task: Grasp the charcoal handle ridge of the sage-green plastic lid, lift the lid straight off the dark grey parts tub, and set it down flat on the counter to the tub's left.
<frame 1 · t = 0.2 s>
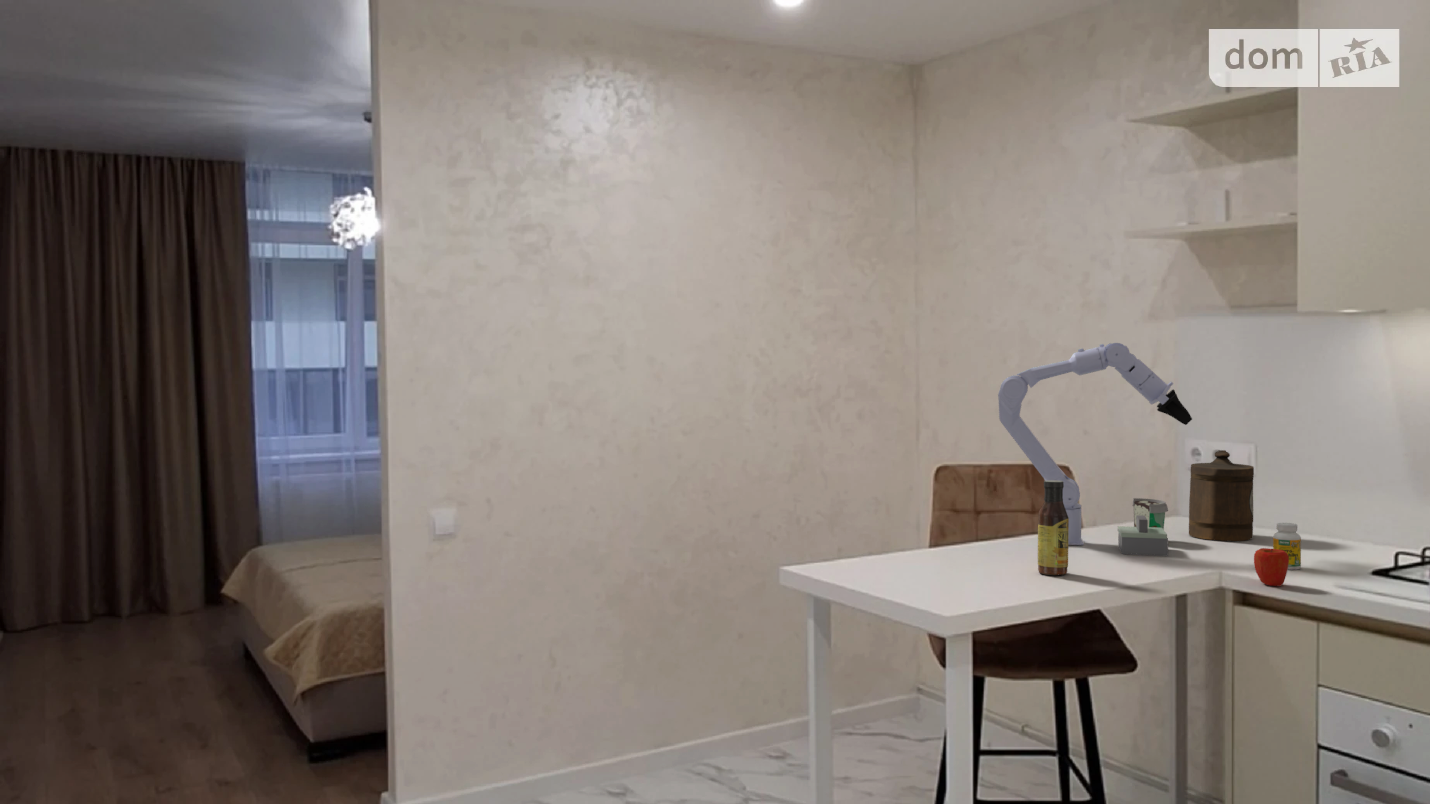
hand: (1188, 420, 264), 31 cm above the counter, tool tilted 45°, fingers open, 7 cm apart
wooden container: (1220, 537, 281), on the counter
lid: (1141, 537, 261), point 3 cm above the counter, touching tub
tub: (1142, 551, 261), on the counter
supplement bottle: (1286, 568, 240), on the counter
food container: (1153, 542, 275), on the counter
sauce bottle: (1052, 574, 236), on the counter
apple: (1270, 586, 223), on the counter
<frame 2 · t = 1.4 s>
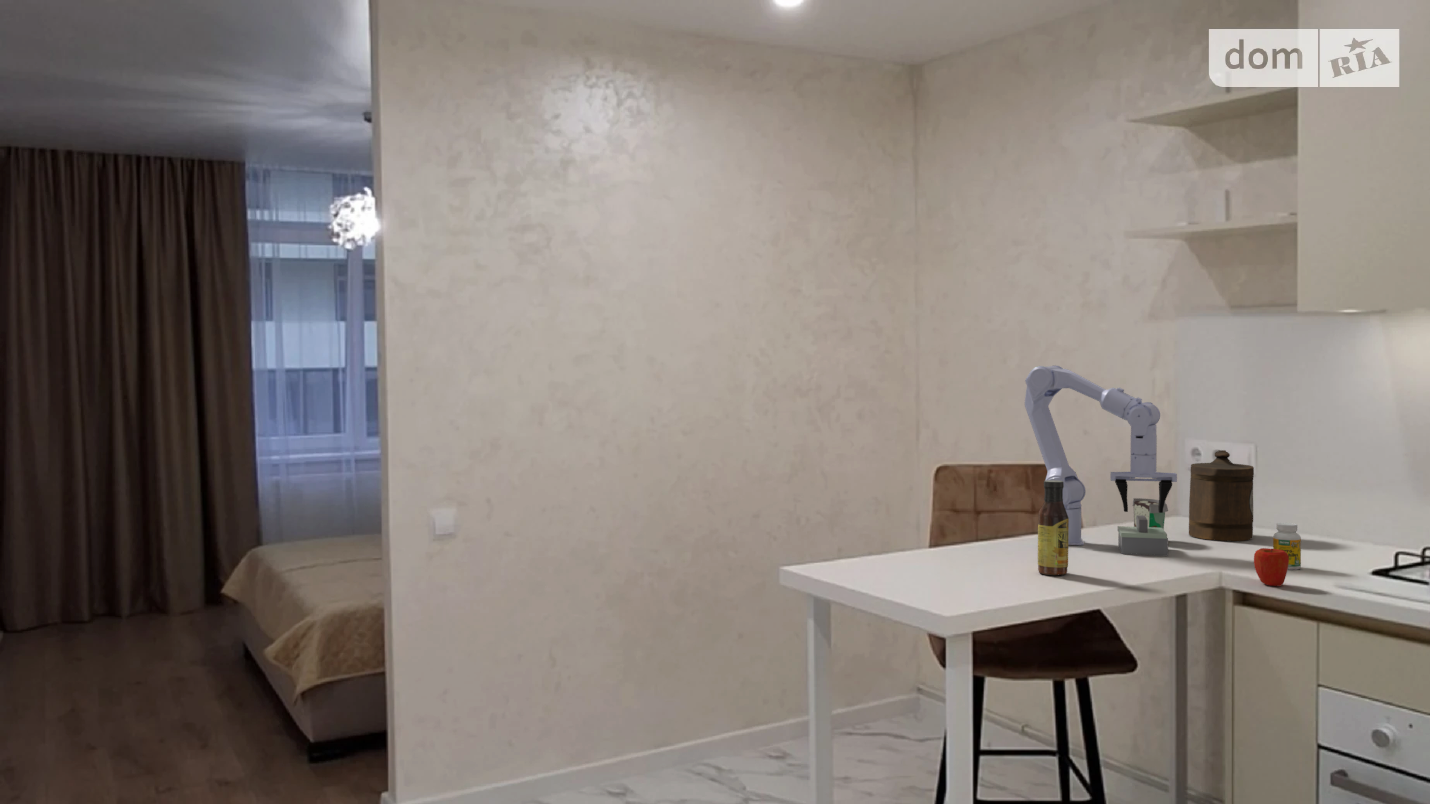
hand: (1143, 511, 261), 9 cm above the counter, tool pointing down, fingers open, 7 cm apart
nothing on the counter moved.
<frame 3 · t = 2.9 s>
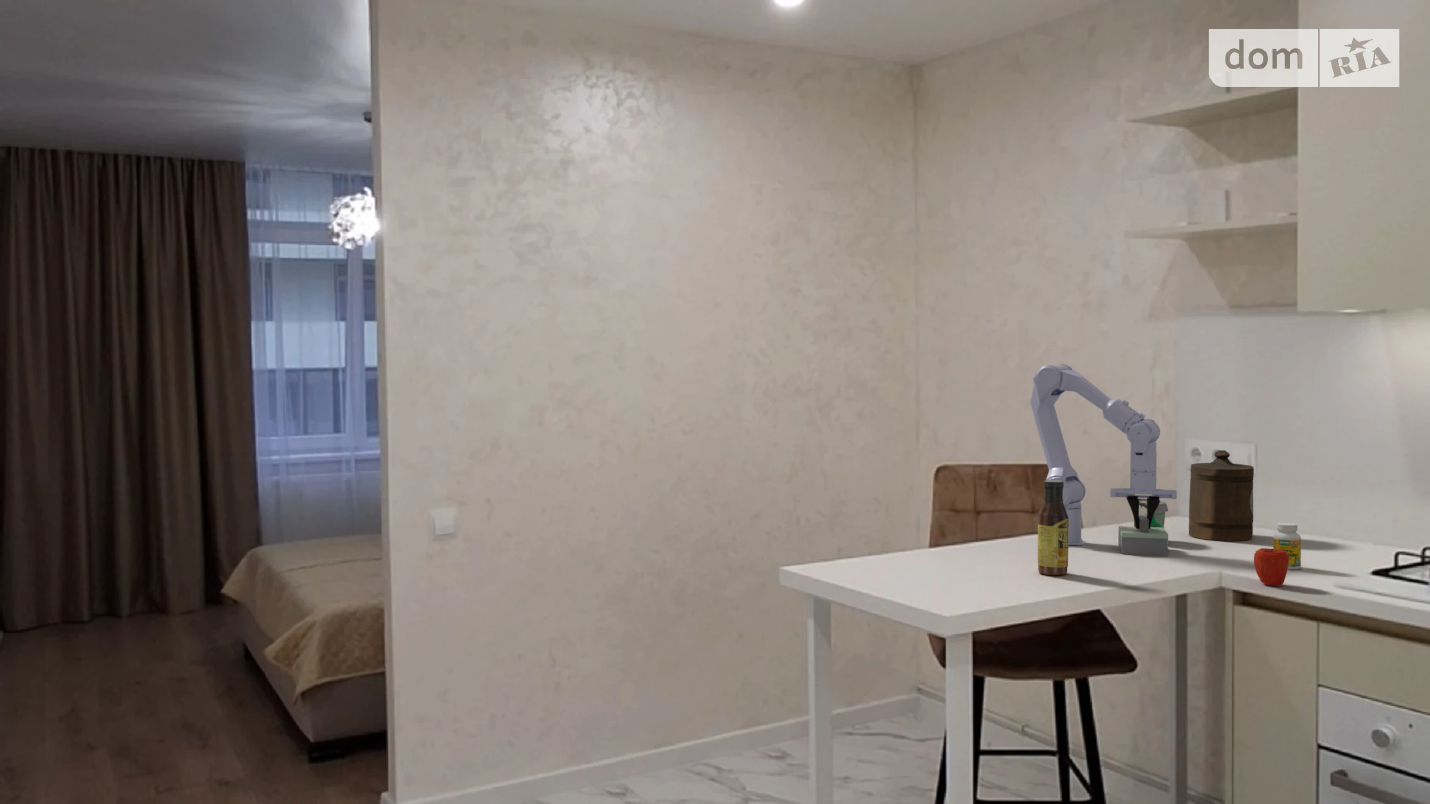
hand: (1142, 528, 261), 5 cm above the counter, tool pointing down, fingers closed on lid
lid: (1142, 537, 261), point 3 cm above the counter, touching gripper
everything else where it was.
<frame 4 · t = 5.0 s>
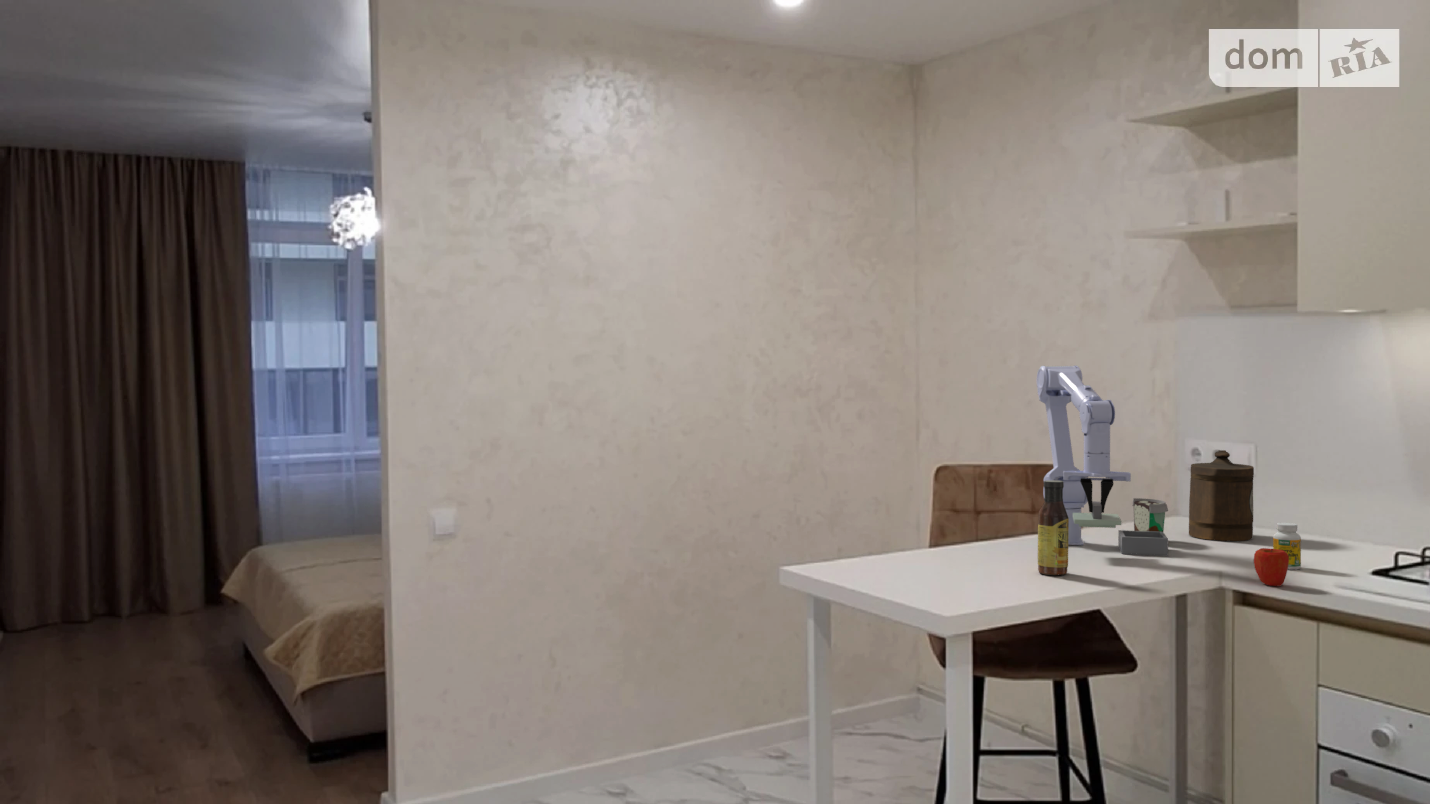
hand: (1096, 511, 254), 10 cm above the counter, tool pointing down, fingers closed on lid
lid: (1096, 524, 254), point 8 cm above the counter, touching gripper
everything else where it was.
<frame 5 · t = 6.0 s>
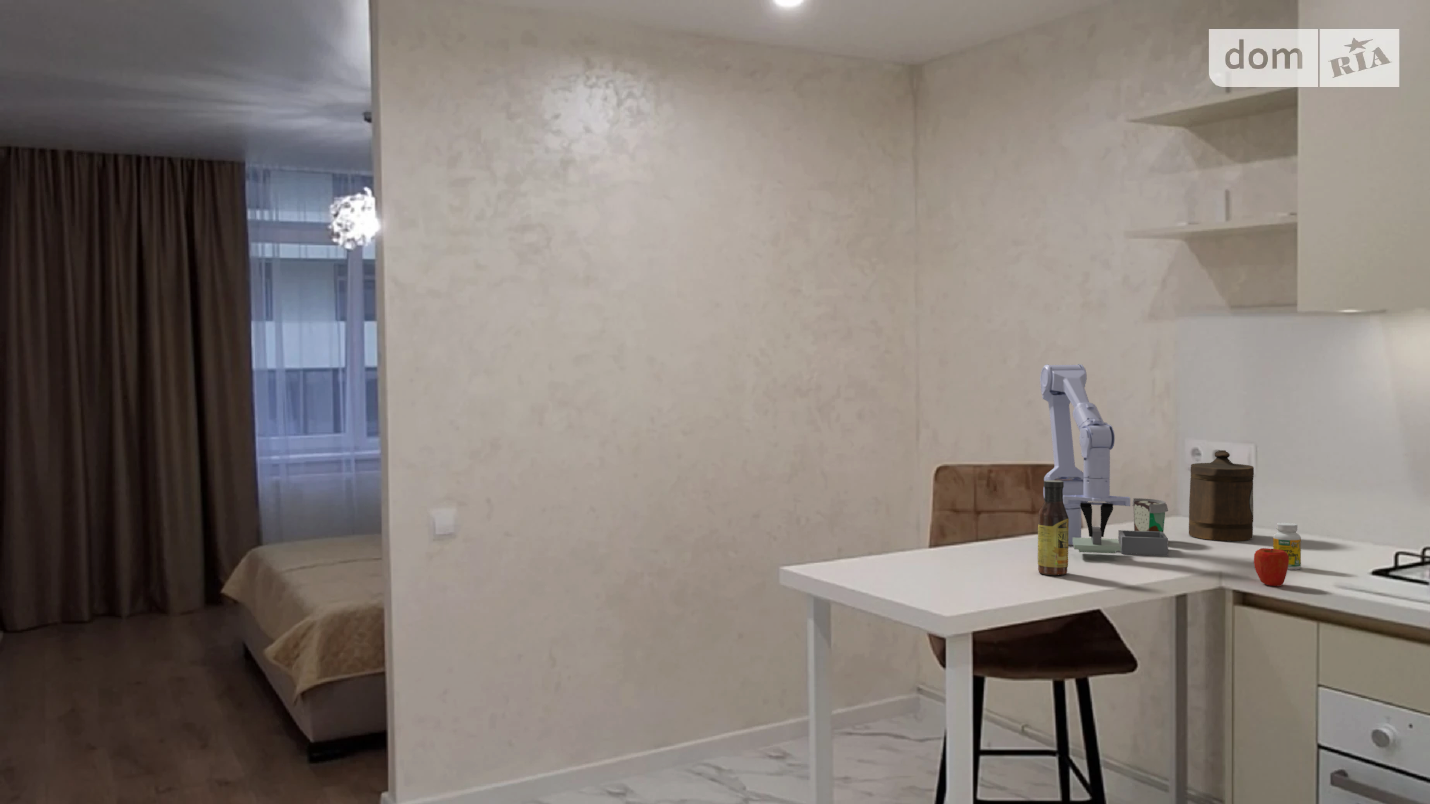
hand: (1096, 536, 255), 5 cm above the counter, tool pointing down, fingers closed on lid
lid: (1096, 549, 255), point 2 cm above the counter, touching gripper
everything else where it was.
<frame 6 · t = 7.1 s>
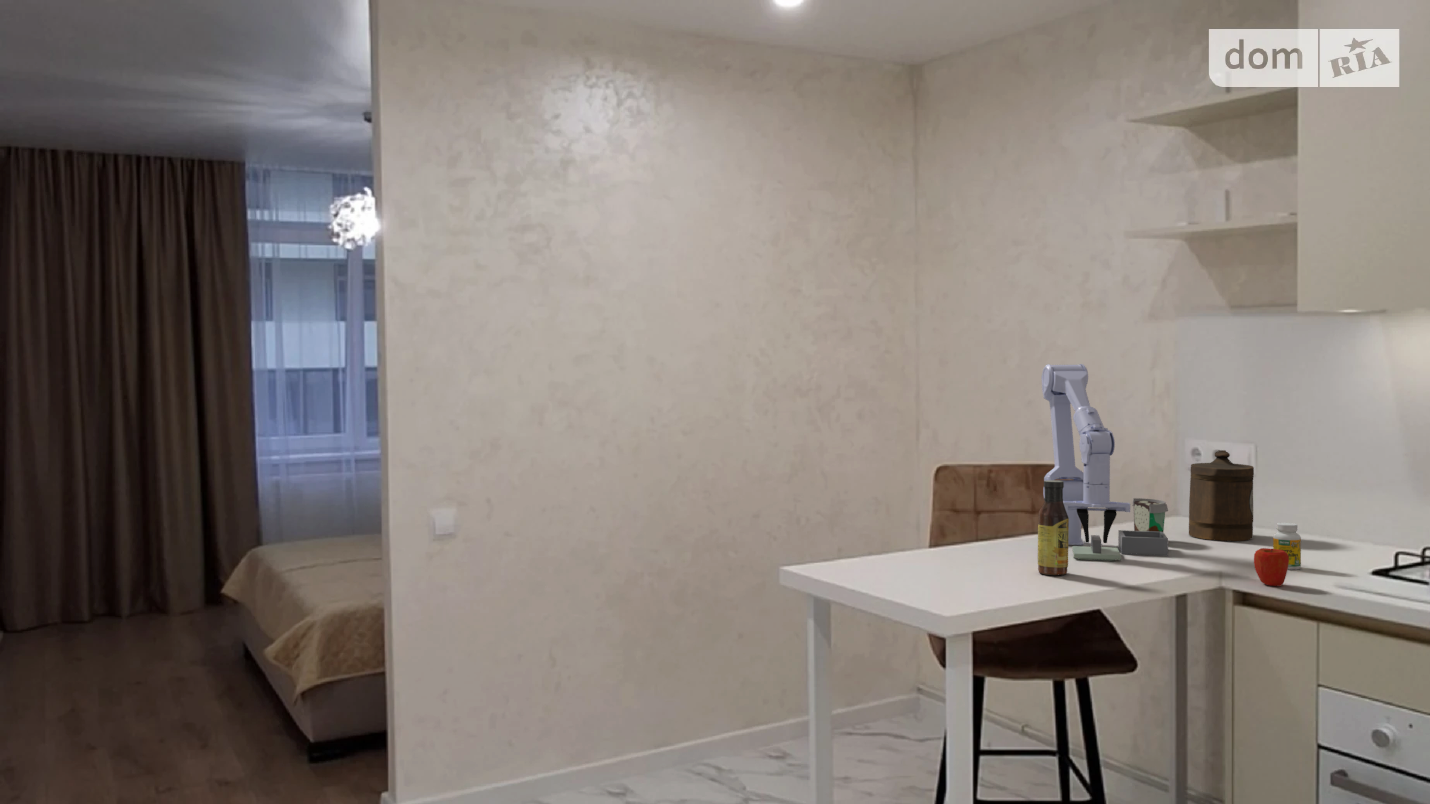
hand: (1096, 542, 255), 3 cm above the counter, tool pointing down, fingers open, 3 cm apart
lid: (1095, 558, 255), on the counter
everything else where it was.
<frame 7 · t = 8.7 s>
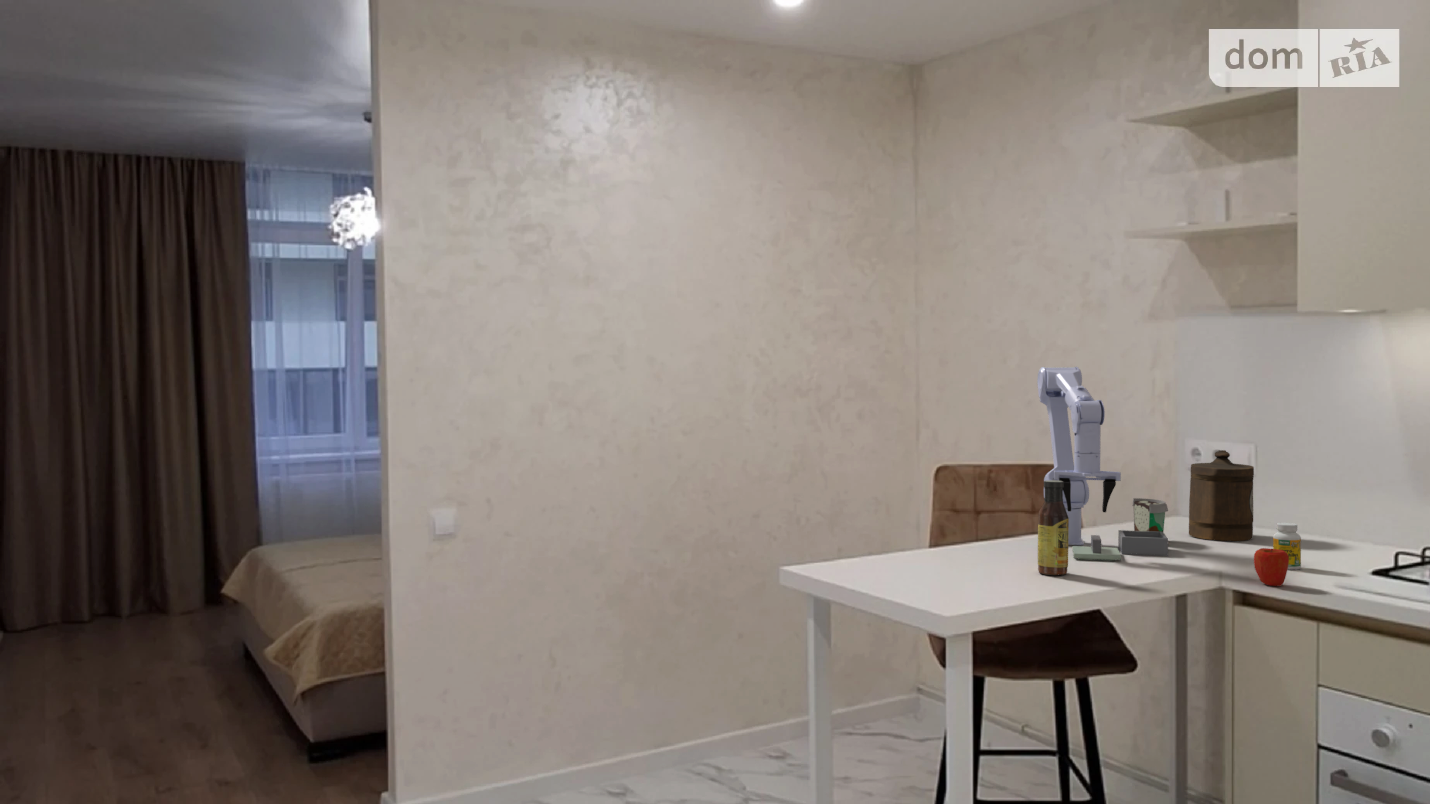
hand: (1086, 511, 256), 10 cm above the counter, tool pointing down, fingers open, 7 cm apart
nothing on the counter moved.
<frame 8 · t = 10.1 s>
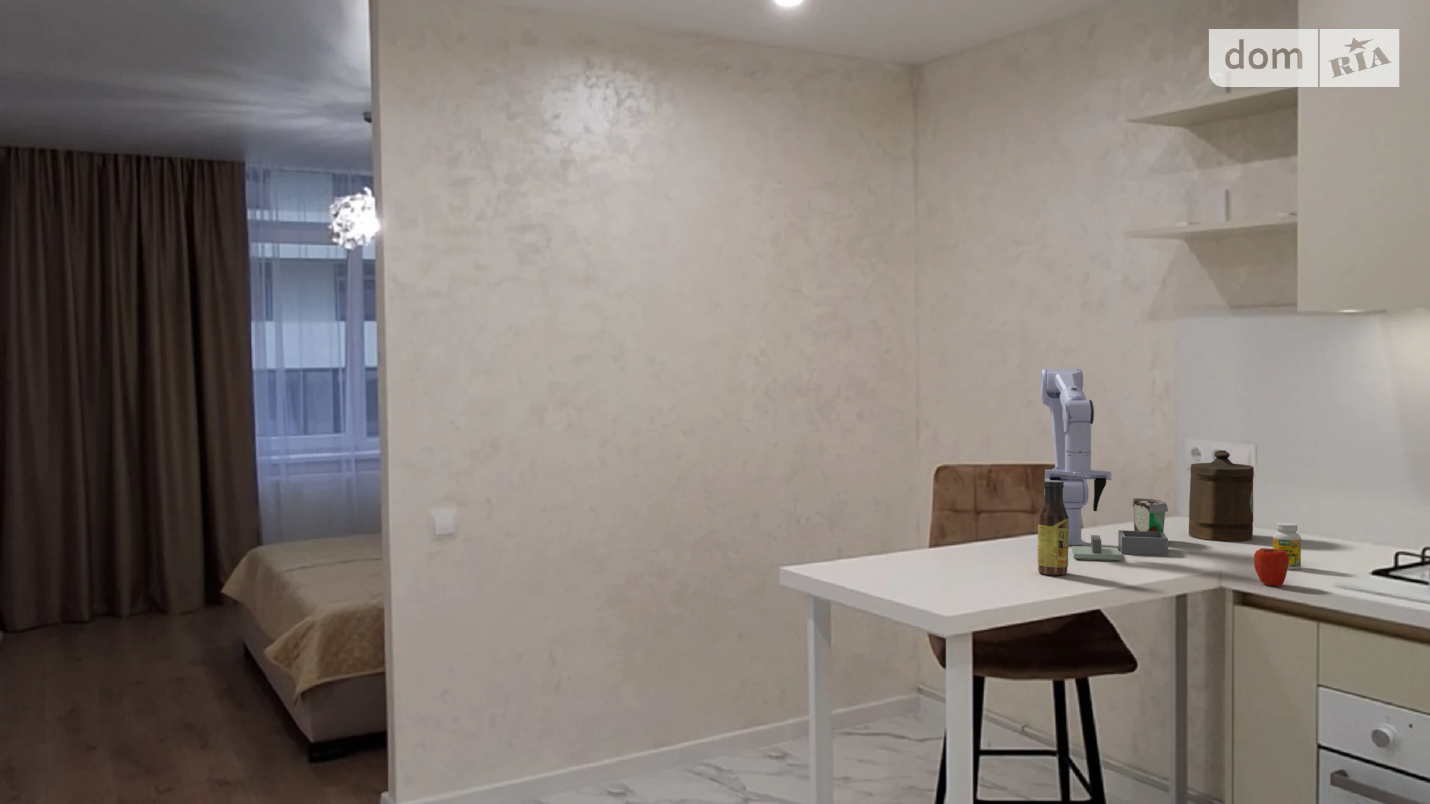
hand: (1077, 510, 257), 10 cm above the counter, tool pointing down, fingers open, 7 cm apart
nothing on the counter moved.
at the end: lid inside the target area (0.1 cm from its centre), on the counter; lid tilted 0°; the gripper is holding nothing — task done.
